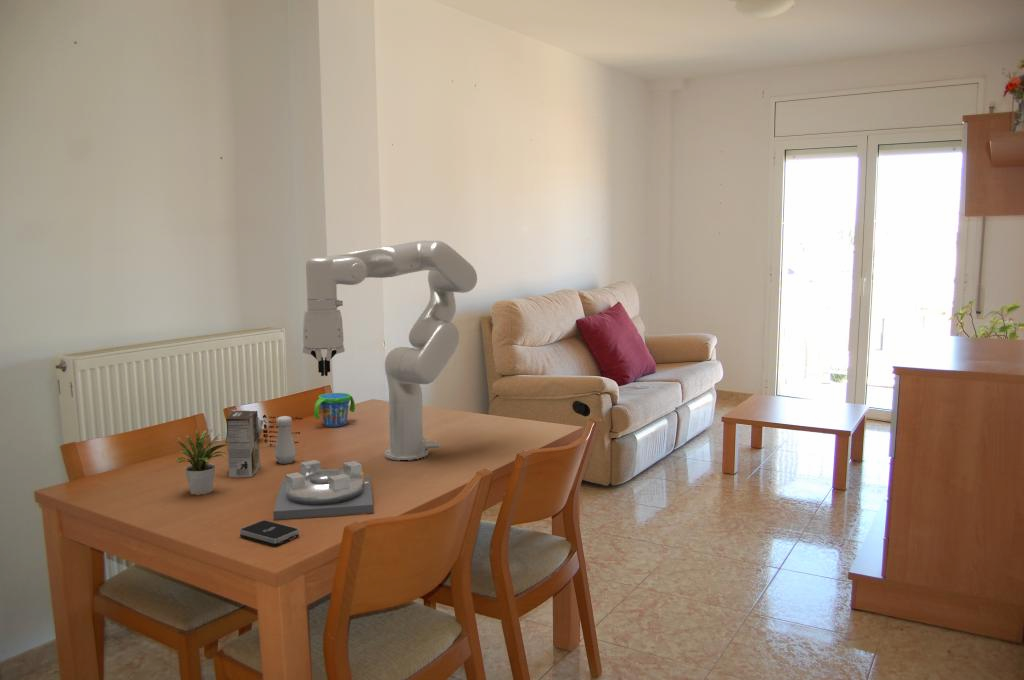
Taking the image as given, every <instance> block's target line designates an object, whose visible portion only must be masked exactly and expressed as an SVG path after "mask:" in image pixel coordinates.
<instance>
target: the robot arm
mask: <svg viewBox="0 0 1024 680" xmlns="http://www.w3.org/2000/svg"><path fill="white" fill-rule="evenodd" d="M475 269H476V268H474V266H473V265H472V264H471V263H470V262H468V260H466V258H464V257H463V256H462V255H461V254H460V253H459V252H457V251H456V250H455V249H454V248H453V247H452V246H450V245H449V244H448V243H445V242H444V241H442V240H441V241H440V240H415V241H411V242H410V241H409V242H405V243H400V244H394V245H388V246H384V247H382V246H381V247H376V248H370V249H366V250H364V249H363V250H359V251H351V252H345V253H339V254H335V255H330V256H328V257H311V258H308V259H307V260H306V263H305V275H306V276H305V277H306V303H307V304H306V305H307V310H304V314H303V321H302V323H303V324H302V340H303V341H302V342H303V343H302V344H303V348H302V353H303V354H306V355H309V356H312V357H313V358H315V359H316V361H317V364H318V365H317V368H318V370H317V372H318V373H320V375H321V377H328V375H329V374H328V373H331V360H332V358H334V357H335V356H336V355H338V354H341V353H344V352H345V346H344V327H343V318H342V313H341V310H340V309H338V308H339V307H341V306H343V304H344V303H343V300H340V299H338V296H337V294H338V293H337V292H338V290H337V288H338V287H337V285H344V286H354V285H358V284H361V283H362V282H363V281H365V279H367V278H368V279H369V278H374V279H375V278H376V279H377V278H378V279H380V278H381V279H382V278H383V279H384V278H386V279H387V278H395V277H399V276H403V275H407V274H412V273H417V272H422V271H428V275H427V279H428V280H427V282H428V286H429V295H430V296H429V301H428V303H427V305H426V307H425V308H424V310H423V311H422V312H421V314H420V316H419V317H418V318H417V320H416V321H415V323H414V324H413V325H412V327H411V329H410V331H409V334H408V341H409V343H410V346H412V347H407V346H398V347H395V348H393V349H391V350H390V351H389V352H388V353H387V355H386V357H385V360H384V371H385V375H386V380H387V384H388V385H387V387H388V412H389V413H388V415H389V418H388V419H389V448H388V449H386V450H385V451H384V457H386V459H388V460H393V461H400V460H408V461H414V460H413V459H417V460H420V459H419V458H421V459H423V458H422V457H424V456H426V455H427V456H429V449H433V450H434V449H439V448H440V442H439V441H435V440H425V438H424V436H423V435H424V434H423V433H424V429H423V427H424V425H423V421H424V420H423V417H424V416H423V390H422V387H421V385H428V384H431V383H433V382H434V381H435V380H436V379H438V377H439V376H440V374H441V373H442V372H443V370H444V368H445V367H446V366H447V364H448V362H449V361H450V360H451V358H452V357H453V355H454V354H455V351H456V350H457V348H458V346H459V341H460V332H459V329H458V326H456V324H454V323H453V322H452V321H453V319H454V317H455V316H456V310H457V304H456V300H455V299H456V297H455V295H454V294H455V293H459V294H460V293H461V294H463V293H468V292H471V291H473V289H474V288H475V287H476V285H477V282H478V275H477V271H476V270H475ZM322 350H326V355H325V357H323V355H322ZM427 456H426V457H427ZM424 458H425V457H424Z"/></svg>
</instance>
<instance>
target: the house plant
mask: <svg viewBox="0 0 1024 680" xmlns="http://www.w3.org/2000/svg"><path fill="white" fill-rule="evenodd" d="M213 429H214V428H212V429H211V430H210V431H209V432H208V433H207V429H206V428H205V429H204V430H203V431H202V432H201V434H199V427H197V428H196V430H195V431H196V432H195V442H194V441H193V440H192V438H191V437H190V436H188V435H187V434H185V435H184V437H185V438H187V442H188V443H189V446H190V447H191V449H190V447H189V446H188V444H186V443H185V442H184V441H183V439H181V438H178V437H177V439H178V440H180V441H178V440H176V439H175V440H174V442H177V443H178V444H179V445H180V446H181V447H182V448H183V449H181V450H179V453H181V454H184V455H186V456H187V457H188V458H186V457H183V456H179V457H177V458H176V464H177V465H178V464H180V463H182V462H183V463H184V462H185V460H186V461H187V462H188V463H190V464H191V465H188V466H186V467H185V469H184V472H185V476H186V480H187V484H188V488H189V493H190V494H191V493H192V494H191V495H193V494H203V495H206V494H205V493H208V494H210V493H212V492H213V490H214V489H213V488H214V481H215V473H216V465H215V464H213V463H209V462H210V460H212V459H214V458H217V457H224V458H225V455H227V453H226V451H216V450H219V449H221V448H224V447H226V446H227V447H228V445H232V444H228V443H227V444H218V445H215V446H213V445H214V444H216V443H217V440H223V439H224V437H222V438H221V437H220V436H222V435H223V434H225V432H222V433H220V434H218V435H216V436H215V437H214V438H213V439H212V441H211V442H210V443H208V444H207V446H206V445H205V444H206V441H207V439H208V437H209V435H210V434H211V433H212V432H213ZM180 436H181V437H182V436H183V435H180ZM219 437H220V438H219ZM205 446H206V447H205ZM224 454H225V455H224ZM211 491H212V492H211ZM209 492H210V493H209Z"/></svg>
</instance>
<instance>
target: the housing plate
mask: <svg viewBox="0 0 1024 680" xmlns="http://www.w3.org/2000/svg"><path fill="white" fill-rule="evenodd" d="M372 491H373V490H372V481H371V476H370V475H369V476H364V485H363V492H362V493H361V494H360V495H359V496H357V497H355V498H353V499H350V500H347V501H343V502H338V503H332V504H320V505H312V504H301V503H297V502H293V501H291V500H289V499H288V498H287V496H286V482H285V481H281V483H280V486H279V490H278V494H277V498H276V500H275V505H274V508H273V521H280V520H291V519H292V520H293V519H306V518H307V519H308V518H321V517H323V518H324V517H335V516H349V515H348V514H354V515H362V514H361V513H368V514H374V503H373V492H372Z"/></svg>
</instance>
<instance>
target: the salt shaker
mask: <svg viewBox="0 0 1024 680" xmlns="http://www.w3.org/2000/svg"><path fill="white" fill-rule="evenodd" d="M292 418H293V417H292ZM292 418H291V416H289V415H288V416H287V415H283V416H282V415H281V417H280V416H278V418H275V419H276V420H275V421H276V423H275V424H276V426H279V427H278V428H277V431H278V433H276V440H275V441H276V442H275V443H276V444H275V450H274V457H275V459H276V460H277V462H278V463H279V465H288V464H292V463H293V462H294V460H295V457H296V455H297V454H296V453H297V452H296V447H295V443H294V442H295V441H294V438H293V434H292V432H293V431H292V429H291V426H292V424H293V419H292Z"/></svg>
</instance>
